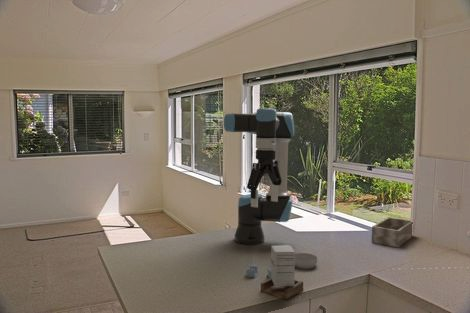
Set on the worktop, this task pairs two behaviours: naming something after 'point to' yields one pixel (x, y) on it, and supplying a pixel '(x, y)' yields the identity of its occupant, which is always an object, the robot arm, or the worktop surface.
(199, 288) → the worktop surface
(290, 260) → the supplement box
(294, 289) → the wooden tray
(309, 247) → the worktop surface
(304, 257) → the saucepan
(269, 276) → the clip
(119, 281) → the worktop surface
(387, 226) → the box
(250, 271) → the clip
